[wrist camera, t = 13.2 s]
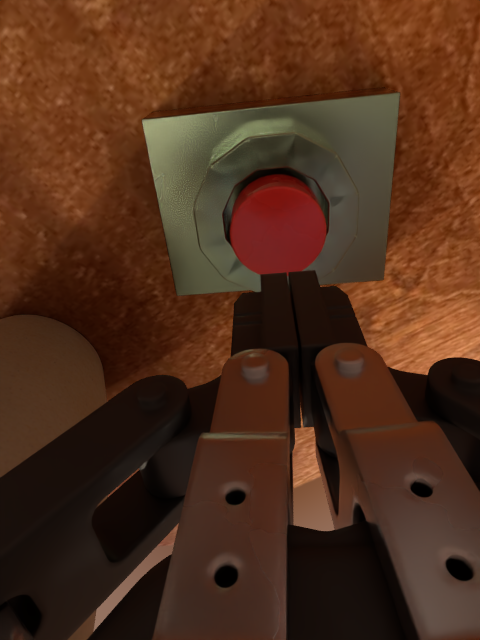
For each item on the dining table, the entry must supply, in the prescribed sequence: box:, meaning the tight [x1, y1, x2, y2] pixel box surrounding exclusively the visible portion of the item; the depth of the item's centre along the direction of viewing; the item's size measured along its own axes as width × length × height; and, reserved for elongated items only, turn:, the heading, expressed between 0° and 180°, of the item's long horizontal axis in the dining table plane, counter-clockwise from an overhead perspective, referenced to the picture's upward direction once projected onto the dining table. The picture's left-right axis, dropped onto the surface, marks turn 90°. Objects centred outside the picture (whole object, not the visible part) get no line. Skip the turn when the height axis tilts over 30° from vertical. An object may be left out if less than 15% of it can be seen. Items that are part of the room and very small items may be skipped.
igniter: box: [142, 87, 400, 296], centre depth 19 cm, size 10×8×4 cm
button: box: [230, 174, 327, 276], centre depth 17 cm, size 4×4×2 cm
